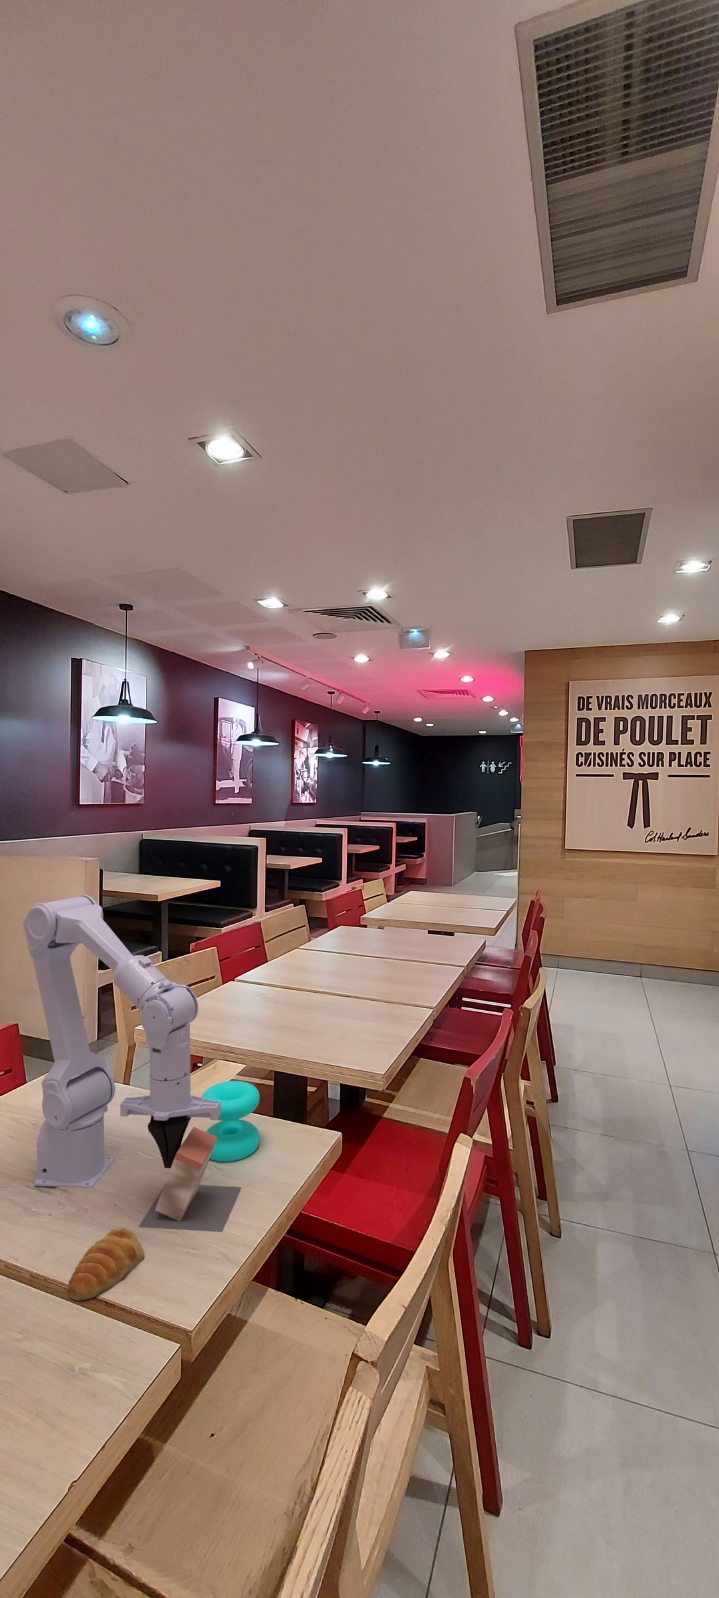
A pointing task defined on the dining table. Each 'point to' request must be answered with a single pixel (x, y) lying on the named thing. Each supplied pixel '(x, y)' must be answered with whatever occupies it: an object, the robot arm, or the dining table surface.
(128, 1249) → the pastry
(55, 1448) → the dining table surface
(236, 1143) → the donuts
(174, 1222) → the mat
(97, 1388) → the dining table surface
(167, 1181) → the block
